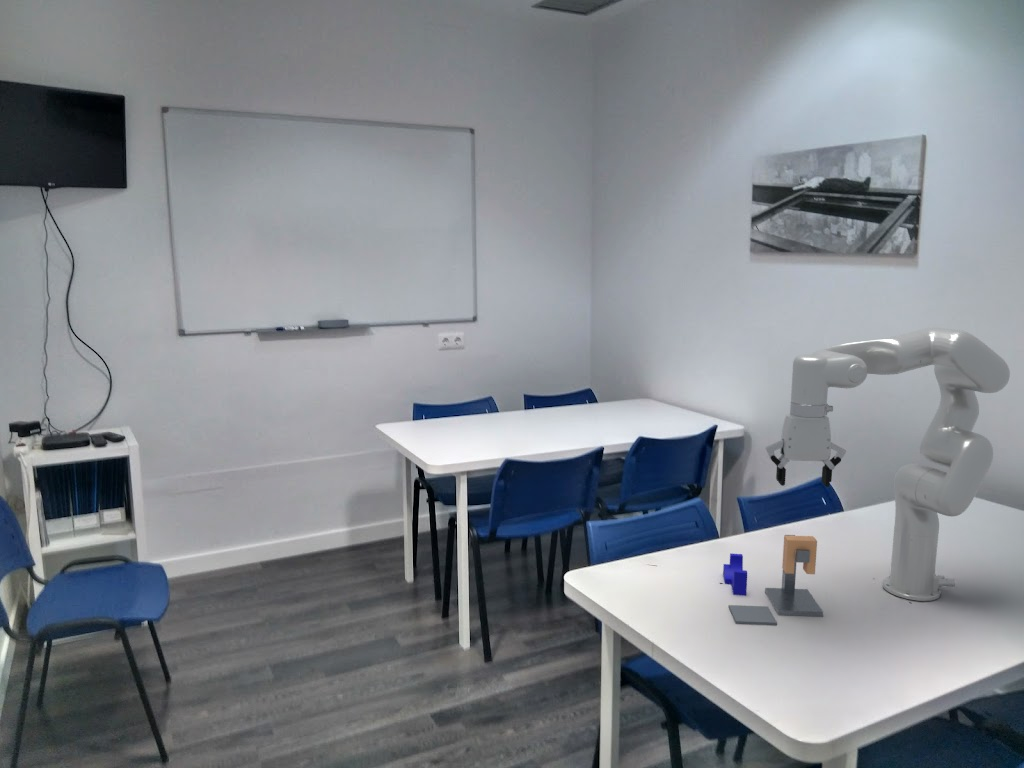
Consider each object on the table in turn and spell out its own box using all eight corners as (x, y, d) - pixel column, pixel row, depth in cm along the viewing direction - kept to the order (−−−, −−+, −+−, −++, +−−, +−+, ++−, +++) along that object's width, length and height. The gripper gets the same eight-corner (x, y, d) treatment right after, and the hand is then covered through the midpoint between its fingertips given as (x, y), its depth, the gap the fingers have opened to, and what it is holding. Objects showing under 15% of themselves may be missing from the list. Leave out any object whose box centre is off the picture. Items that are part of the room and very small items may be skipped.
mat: (767, 608, 176) (768, 606, 176) (776, 625, 168) (777, 622, 168) (728, 607, 177) (728, 605, 177) (735, 623, 169) (735, 621, 169)
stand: (806, 593, 184) (811, 533, 182) (822, 616, 172) (827, 552, 170) (764, 592, 185) (768, 532, 182) (777, 615, 173) (781, 551, 171)
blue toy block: (723, 574, 196) (724, 552, 195) (741, 576, 195) (742, 554, 194) (726, 594, 184) (728, 571, 183) (746, 596, 183) (747, 573, 182)
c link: (810, 569, 176) (813, 536, 175) (814, 574, 173) (817, 541, 172) (782, 568, 176) (784, 535, 175) (785, 573, 174) (787, 540, 172)
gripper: (842, 407, 172) (837, 480, 174) (764, 406, 173) (760, 478, 176) (854, 414, 164) (848, 490, 167) (772, 413, 166) (768, 488, 168)
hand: (803, 484), depth 171 cm, fingers open, 9 cm apart
